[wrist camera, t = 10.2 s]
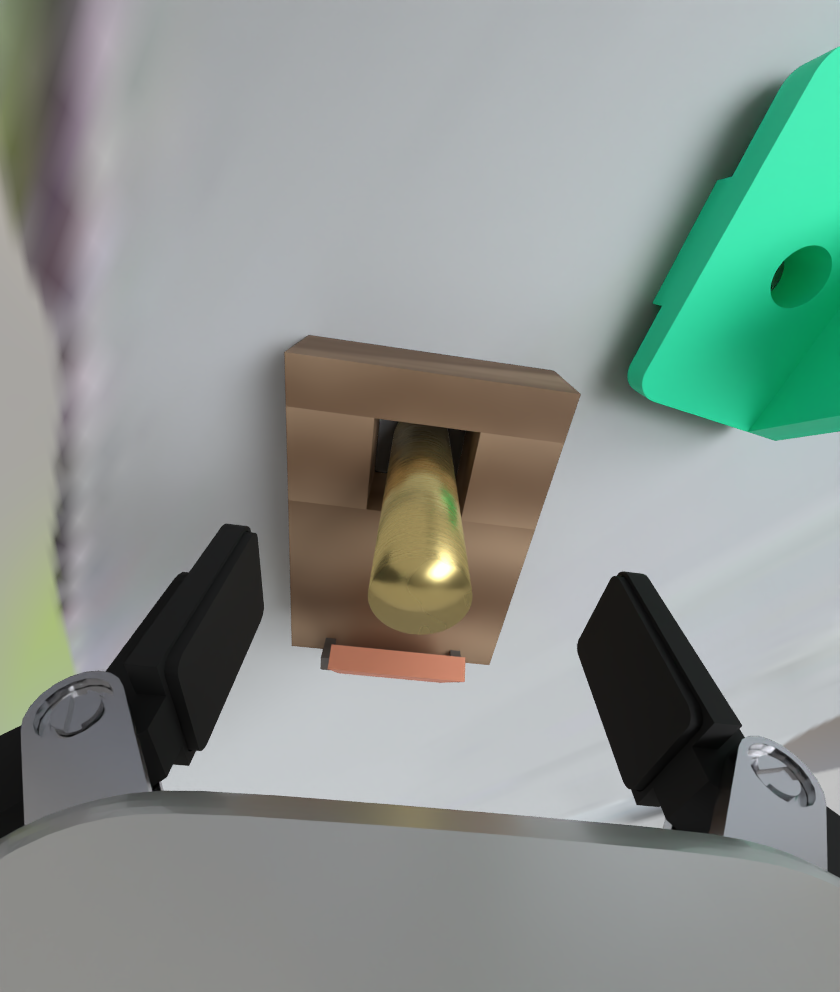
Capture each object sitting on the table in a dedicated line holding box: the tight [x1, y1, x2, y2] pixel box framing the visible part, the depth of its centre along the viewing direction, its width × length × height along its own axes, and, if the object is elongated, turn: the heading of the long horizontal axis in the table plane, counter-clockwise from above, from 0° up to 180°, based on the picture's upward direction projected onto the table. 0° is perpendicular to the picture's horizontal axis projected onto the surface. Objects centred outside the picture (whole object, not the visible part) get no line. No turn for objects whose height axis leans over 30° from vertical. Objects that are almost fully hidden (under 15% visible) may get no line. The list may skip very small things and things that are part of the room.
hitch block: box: [284, 335, 581, 670], centre depth 22 cm, size 17×12×5 cm
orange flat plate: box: [328, 644, 465, 683], centre depth 21 cm, size 7×6×1 cm
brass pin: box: [368, 422, 472, 635], centre depth 17 cm, size 3×3×12 cm
